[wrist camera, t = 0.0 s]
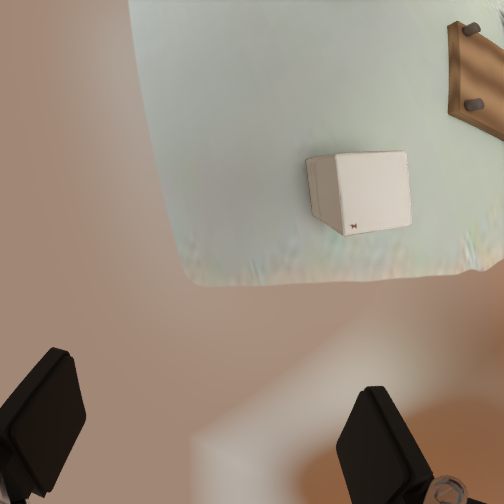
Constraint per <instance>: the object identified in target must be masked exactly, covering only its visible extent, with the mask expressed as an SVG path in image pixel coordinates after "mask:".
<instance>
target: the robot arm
mask: <svg viewBox="0 0 504 504" xmlns="http://www.w3.org/2000/svg"><path fill="white" fill-rule="evenodd" d="M85 420H86V412H85V408H84V404H83V400H82V396H81V391H80V387H79V383H78V378H77V373H76V368H75V363H74V359H73V357H71V356H70V354H69V352H68V351H65V350H61V349H58V348H55V347H52V348H51V349H50V350H49V351H48V352H47V353H46V354H45V355H44V356H43V358H42V359H41V360H40V361H39V362H38V363H37V364H36V366H35V367H34V368H33V369H32V370H31V371H30V372H29V374H28V375H27V376H26V377H25V378H24V380H23V381H22V382H21V383H20V384H19V386H18V387H17V388H16V389H15V390H14V392H13V393H12V394H11V395H10V396H9V398H8V399H7V400H6V401H5V403H4V404H3V405H2V407H1V408H0V504H30V501H29V496H30V494H31V492H32V493H34V494H36V495H38V496H41V497H43V498H44V497H45V495H46V493H47V492H51V491H52V489H53V487H54V485H55V483H56V481H57V479H58V476H59V474H60V472H61V470H62V468H63V466H64V463H65V462H66V460H67V457H68V455H69V453H70V451H71V449H72V447H73V445H74V443H75V441H76V439H77V437H78V435H79V433H80V431H81V429H82V427H83V425H84V423H85ZM336 451H337V455H338V458H339V461H340V465H341V468H342V471H343V475H344V478H345V481H346V484H347V488H348V491H349V495H350V498H351V501H352V504H486V503H483V502H480V501H477V500H474V499H471V498H468V491H467V488H466V486H465V484H464V483H463V482H462V481H461V480H460V479H458V478H456V477H454V476H450V475H443V476H439V477H437V478H434V476H433V472H432V471H431V469H430V467H429V465H428V463H427V461H426V459H425V458H424V456H423V454H422V452H421V450H420V448H419V447H418V445H417V443H416V441H415V439H414V438H413V436H412V434H411V432H410V431H409V429H408V427H407V425H406V423H405V422H404V420H403V418H402V416H401V415H400V413H399V411H398V410H397V408H396V406H395V404H394V403H393V401H392V399H391V398H390V396H389V394H388V392H387V391H386V389H385V388H384V387H383V386H371V387H370V386H368V387H366V388H365V389H364V391H361V392H360V393H359V395H358V397H357V400H356V402H355V404H354V407H353V409H352V411H351V413H350V416H349V418H348V420H347V422H346V425H345V427H344V429H343V431H342V433H341V435H340V437H339V439H338V441H337V444H336Z"/></svg>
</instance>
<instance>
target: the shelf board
mask: <svg viewBox="0 0 504 504" xmlns="http://www.w3.org/2000/svg"><path fill="white" fill-rule="evenodd" d="M447 27H448V43H449V104H448V114H449V115H451V116H454V117H456V118H458V119H460V120H463V121H465V122H467V123H469V124H471V125H473V126H475V127H477V128H479V129H481V130H483V131H485V132H487V133H489V134H491V135H493V136H495V137H497V138H499V139H500V140H502V141H504V50H503V49H502V48H500V47H499V46H497V45H496V44H494V43H493V42H492V41H490V40H488V39H487V38H485V37H484V36H482V35H481V34H479V33H478V32H480V31H481V29H480V27H479V25H478V24H477V23H475V22H474V23H471V24H469V25H467V26H466V25H464V24H462V23H461V22H459V21H456V22H454V23H452V24H451V25H449V26H447Z"/></svg>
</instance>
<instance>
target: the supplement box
mask: <svg viewBox="0 0 504 504" xmlns="http://www.w3.org/2000/svg"><path fill="white" fill-rule="evenodd" d="M306 165H307V174H308V181H309V189H310V197H311V205H312V213H313V215H314V216H315V217H317V218H318V219H320V220H321V221H322V222H324V223H325V224H327V225H328V226H330V227H331V228H333V229H334V230H336V231H337V232H338V233H340V234H341V235H343V236H350V235H356V234H361V233H367V232H373V231H379V230H385V229H391V228H398V227H404V226H410V225H412V218H411V199H410V185H409V174H408V163H407V154H406V151H370V152H352V153H338V154H334V155H329V156H322V157H315V158H310V159H307V160H306Z"/></svg>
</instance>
